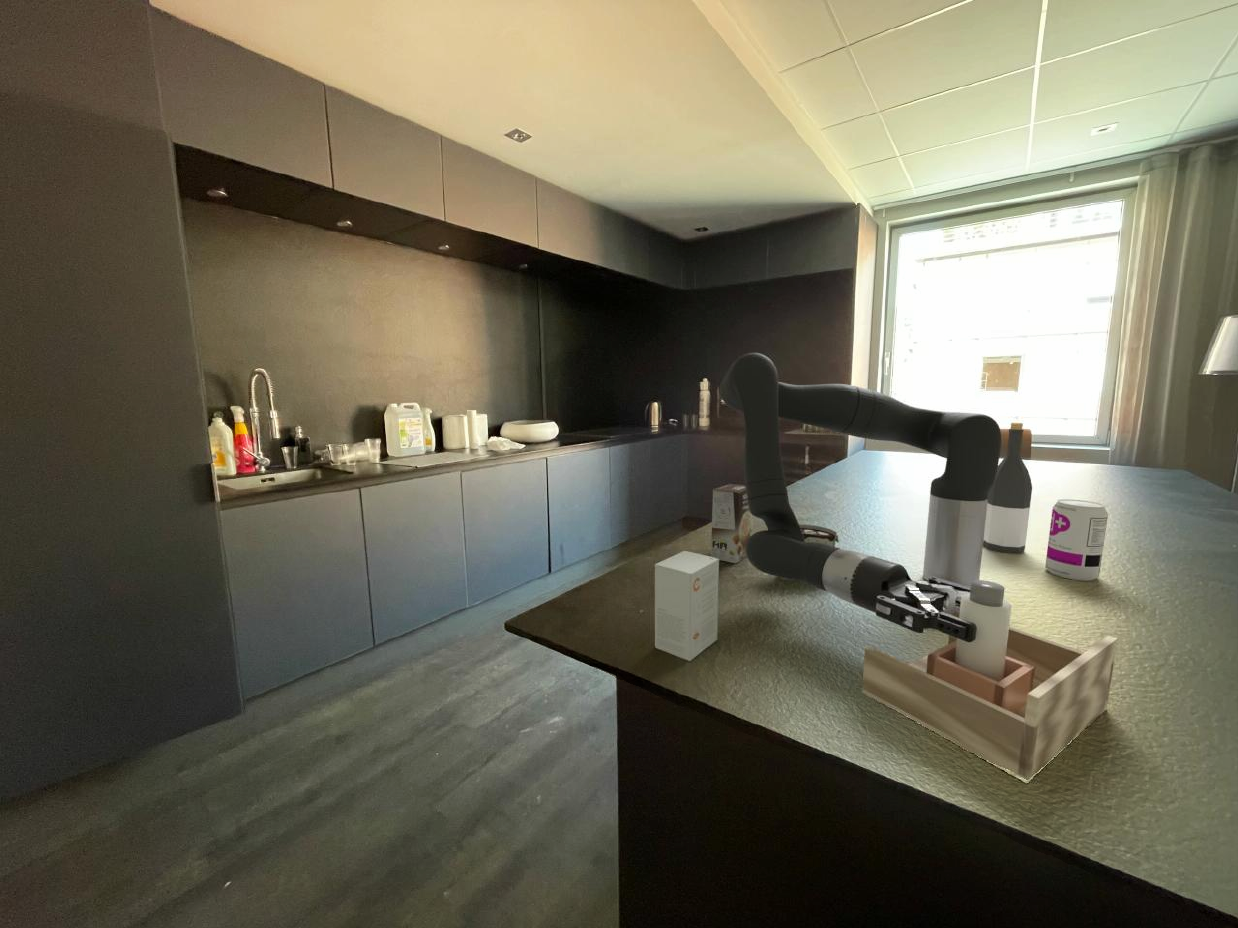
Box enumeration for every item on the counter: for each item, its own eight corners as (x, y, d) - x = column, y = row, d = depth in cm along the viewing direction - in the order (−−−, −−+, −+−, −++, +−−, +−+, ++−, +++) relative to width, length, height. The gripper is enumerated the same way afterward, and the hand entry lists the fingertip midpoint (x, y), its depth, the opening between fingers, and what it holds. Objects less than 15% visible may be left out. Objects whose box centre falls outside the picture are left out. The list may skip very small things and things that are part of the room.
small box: (682, 627, 79) (684, 549, 77) (718, 640, 75) (720, 558, 73) (653, 647, 73) (653, 563, 71) (689, 662, 69) (691, 573, 67)
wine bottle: (973, 543, 121) (986, 422, 117) (1003, 542, 122) (1016, 421, 118) (1002, 554, 113) (1016, 424, 109) (1033, 553, 114) (1049, 423, 110)
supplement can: (1054, 578, 98) (1064, 505, 96) (1038, 565, 106) (1046, 497, 104) (1107, 584, 95) (1118, 509, 93) (1086, 570, 103) (1096, 500, 101)
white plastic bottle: (963, 678, 63) (974, 574, 61) (1007, 697, 59) (1020, 587, 57) (944, 689, 61) (955, 582, 59) (989, 711, 57) (1002, 596, 55)
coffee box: (736, 564, 107) (739, 492, 105) (710, 558, 111) (711, 489, 109) (752, 553, 115) (754, 485, 113) (726, 548, 119) (728, 482, 116)
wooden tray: (950, 646, 72) (956, 588, 71) (1106, 709, 58) (1117, 638, 57) (861, 692, 62) (866, 625, 60) (1027, 784, 47) (1038, 698, 46)
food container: (826, 569, 104) (829, 524, 102) (836, 580, 98) (839, 532, 96) (767, 568, 105) (768, 522, 104) (773, 578, 99) (775, 530, 98)
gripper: (834, 565, 68) (966, 608, 54) (893, 547, 75) (1022, 582, 61) (831, 616, 69) (959, 671, 55) (890, 594, 76) (1015, 638, 62)
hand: (992, 624), depth 58 cm, fingers open, 8 cm apart
